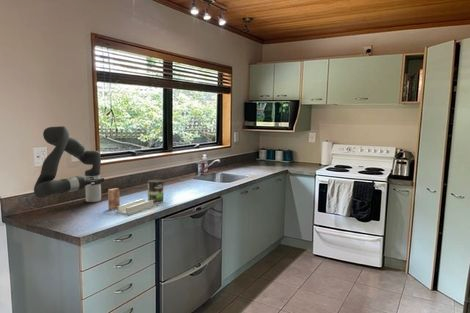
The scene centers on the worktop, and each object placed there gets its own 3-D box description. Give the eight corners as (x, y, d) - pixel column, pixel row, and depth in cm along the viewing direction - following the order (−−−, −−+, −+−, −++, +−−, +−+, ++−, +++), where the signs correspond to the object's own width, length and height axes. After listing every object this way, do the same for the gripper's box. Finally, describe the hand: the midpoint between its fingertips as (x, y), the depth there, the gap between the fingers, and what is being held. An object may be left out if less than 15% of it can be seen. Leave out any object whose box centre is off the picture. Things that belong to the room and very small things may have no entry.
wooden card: (112, 209, 206) (111, 190, 205) (108, 209, 208) (108, 189, 206) (119, 207, 212) (119, 188, 210) (116, 206, 213) (115, 187, 212)
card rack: (129, 215, 196) (128, 208, 195) (116, 212, 200) (116, 206, 200) (154, 206, 215) (154, 200, 215) (142, 204, 220) (142, 198, 219)
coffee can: (166, 201, 227) (166, 180, 226) (153, 204, 220) (153, 182, 218) (157, 198, 234) (157, 178, 232) (144, 201, 227) (144, 180, 225)
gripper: (82, 178, 179) (107, 173, 194) (64, 175, 186) (89, 171, 200) (83, 192, 180) (107, 186, 195) (65, 189, 187) (90, 184, 201)
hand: (98, 179), depth 197 cm, fingers open, 8 cm apart
